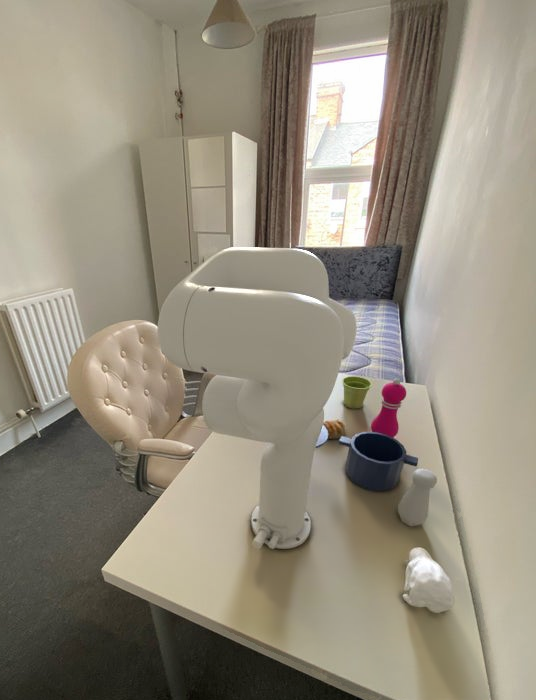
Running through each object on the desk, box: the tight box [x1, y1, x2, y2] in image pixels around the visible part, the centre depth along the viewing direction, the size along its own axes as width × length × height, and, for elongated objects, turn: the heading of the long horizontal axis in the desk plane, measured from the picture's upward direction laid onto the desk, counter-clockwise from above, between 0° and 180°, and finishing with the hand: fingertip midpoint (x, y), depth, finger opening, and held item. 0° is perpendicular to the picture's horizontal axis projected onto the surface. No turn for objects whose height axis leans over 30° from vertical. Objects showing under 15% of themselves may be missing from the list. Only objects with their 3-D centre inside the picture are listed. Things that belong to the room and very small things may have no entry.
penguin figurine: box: [402, 546, 455, 614], centre depth 57 cm, size 6×8×12 cm
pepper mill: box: [370, 378, 407, 439], centre depth 92 cm, size 7×7×20 cm
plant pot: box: [341, 375, 373, 409], centre depth 113 cm, size 9×9×9 cm
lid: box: [315, 426, 329, 449], centre depth 83 cm, size 14×14×6 cm
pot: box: [338, 431, 419, 492], centre depth 83 cm, size 13×18×8 cm
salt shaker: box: [397, 468, 438, 527], centre depth 69 cm, size 6×6×13 cm
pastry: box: [323, 419, 347, 440], centre depth 99 cm, size 9×7×4 cm
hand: (301, 429), depth 84 cm, fingers closed on lid, 2 cm apart
